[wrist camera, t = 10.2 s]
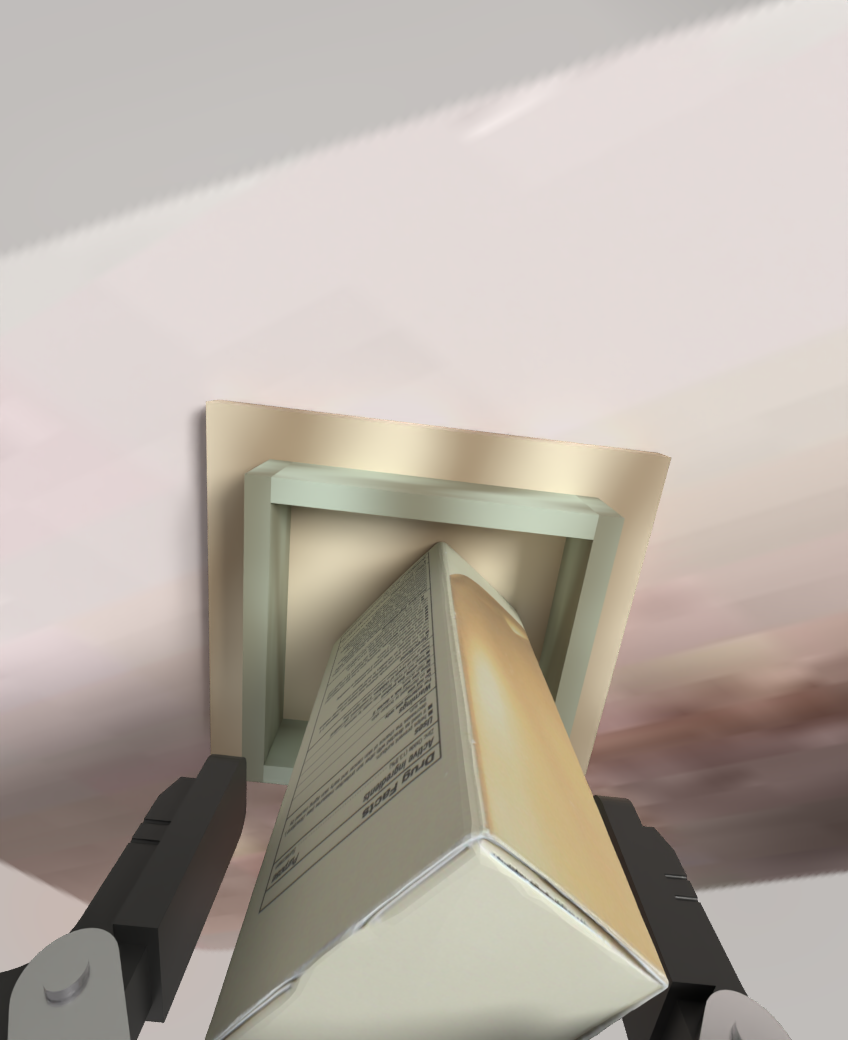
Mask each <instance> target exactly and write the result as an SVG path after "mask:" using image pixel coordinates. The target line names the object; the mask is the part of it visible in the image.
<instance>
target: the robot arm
mask: <svg viewBox="0 0 848 1040" xmlns="http://www.w3.org/2000/svg"><path fill="white" fill-rule="evenodd" d="M246 780H247V762H246V758H245V757H239V756H229V755H219V754H211V755H210V756H209V757H208V759H207V760H206V762H205V764H204V766H203V767H202V769H201V771H200V773H199V774H198V776H197V778H186V777H180V778H179V779H178V780H177V781H176V782H174V783H173V784H172V785H171V786H170V787H169V788H167V789H166V790H165V791H164V792H163V793H162V794H160V795H159V796H158V798H157V800H156V801H155V803H154V804H153V806H152V807H151V809H150V811H149V812H148V814H147V815H146V817H145V818H144V822H143V823H141V825H140V826H139V828H138V829H137V831H136V832H135V834H134V836H133V837H132V841H131V843H128V845H127V847H126V848H125V850H124V851H123V853H122V854H121V856H120V858H119V859H118V861H117V862H116V864H115V865H114V867H113V868H112V870H111V872H110V873H109V875H108V876H107V878H106V879H105V881H104V883H103V884H102V886H101V887H100V889H99V890H98V892H97V894H96V895H95V897H94V898H93V900H92V901H91V903H90V904H89V906H88V908H87V909H86V911H85V912H84V914H83V916H82V917H81V919H80V920H79V921H78V923H77V924H76V926H75V927H74V928H73V929H72V930H71V932H70V933H69V934H66V935H64V936H62V937H60V938H59V939H57V940H55V941H54V942H52V943H51V944H49V945H48V946H47V947H45V948H44V949H43V950H42V951H41V952H39V954H37V956H35V958H34V959H33V960H31V962H30V963H28V964H25V965H23V966H21V967H18V968H15V969H12V970H9V971H5V972H1V973H0V1040H137V1038H138V1036H139V1034H140V1031H141V1029H142V1027H143V1025H144V1022H145V1021H152V1022H162V1023H164V1022H165V1019H166V1017H167V1014H168V1011H169V1009H170V1007H171V1005H172V1002H173V1000H174V997H175V995H176V992H177V990H178V987H179V985H180V982H181V980H182V978H183V975H184V973H185V970H186V968H187V965H188V963H189V960H190V958H191V956H192V953H193V951H194V948H195V946H196V944H197V941H198V939H199V936H200V934H201V931H202V929H203V926H204V924H205V922H206V919H207V917H208V914H209V912H210V909H211V907H212V904H213V902H214V900H215V897H216V895H217V892H218V890H219V887H220V885H221V882H222V880H223V878H224V875H225V873H226V870H227V868H228V865H229V863H230V860H231V858H232V856H233V853H234V851H235V848H236V846H237V843H238V841H239V838H240V835H241V832H242V829H243V825H244V820H245V814H246ZM593 798H594V801H595V803H596V805H597V808H598V810H599V813H600V815H601V817H602V820H603V822H604V825H605V827H606V830H607V832H608V835H609V837H610V840H611V842H612V845H613V847H614V850H615V852H616V855H617V857H618V859H619V862H620V864H621V867H622V869H623V871H624V874H625V876H626V879H627V881H628V884H629V886H630V889H631V891H632V894H633V896H634V899H635V901H636V904H637V906H638V909H639V911H640V914H641V916H642V919H643V921H644V923H645V926H646V928H647V930H648V933H649V935H650V937H651V940H652V942H653V944H654V947H655V949H656V952H657V954H658V957H659V959H660V962H661V964H662V967H663V969H664V972H665V974H666V977H667V979H668V982H669V984H668V988H667V989H665V990H664V991H662V992H661V993H659V994H658V995H656V996H654V997H653V998H651V999H650V1000H648V1001H647V1002H645V1003H644V1004H642V1005H641V1006H639V1007H638V1008H636V1009H635V1010H632V1011H631V1012H629V1013H628V1014H626V1015H625V1016H624V1017H622V1019H623V1023H624V1026H625V1030H626V1033H627V1037H628V1040H791V1038H790V1037H789V1035H788V1034H787V1032H786V1031H785V1030H784V1028H783V1027H782V1026H781V1024H780V1023H779V1022H778V1021H777V1020H776V1019H775V1018H774V1017H773V1016H772V1015H771V1014H770V1013H769V1012H768V1011H767V1010H766V1009H765V1008H764V1007H762V1006H761V1005H760V1004H759V1003H757V1002H756V1001H754V1000H753V999H751V998H749V997H748V995H747V994H746V992H745V990H744V988H743V987H742V985H741V983H740V981H739V979H738V977H737V975H736V973H735V971H734V969H733V967H732V965H731V963H730V961H729V959H728V957H727V955H726V953H725V951H724V949H723V947H722V945H721V943H720V941H719V939H718V937H717V935H716V933H715V931H714V929H713V927H712V925H711V923H710V921H709V919H708V917H707V915H706V913H705V911H704V909H703V907H702V905H701V903H699V902H698V900H697V895H696V893H695V891H694V889H693V887H692V885H691V883H690V881H687V875H686V873H685V871H684V869H683V867H682V865H681V863H680V861H679V859H678V857H677V855H676V853H675V851H674V850H673V849H672V847H671V846H670V845H669V844H668V843H667V842H666V841H665V840H664V838H663V837H662V836H661V835H660V834H659V833H658V832H657V830H656V829H655V828H653V827H644V826H642V824H641V821H640V819H639V817H638V815H637V813H636V811H635V808H634V806H633V804H632V803H631V801H630V800H629V799H626V798H616V797H607V796H597V795H595V796H593Z"/></svg>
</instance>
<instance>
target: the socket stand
mask: <svg viewBox="0 0 848 1040" xmlns="http://www.w3.org/2000/svg"><path fill="white" fill-rule="evenodd" d="M206 446H207V520H208V594H209V667H210V741H211V754H219V755H229V756H239V757H245V758H246V762H247V780H246V781H252V782H262V783H272V784H282V785H288V783H289V780H290V777H291V774H292V771H293V768H294V765H295V762H296V759H297V756H298V753H299V749H300V746H301V743H302V740H303V737H304V734H305V731H306V728H307V725H308V722H309V719H310V716H311V713H312V710H313V707H314V703H315V700H316V697H317V694H318V691H319V688H320V685H321V682H322V678H323V675H324V672H325V669H326V666H327V663H328V660H329V657H330V654H331V650H332V647H333V645H334V644H335V642H336V641H337V640H338V639H339V638H340V637H341V636H342V635H343V634H344V633H345V632H346V631H347V630H348V628H349V627H350V626H351V625H352V624H353V623H354V622H355V621H356V620H357V619H358V618H359V617H360V616H361V615H362V614H363V613H364V612H365V611H366V610H367V609H368V608H369V607H370V606H371V605H372V604H373V603H374V602H375V601H376V600H377V599H378V598H379V597H380V596H381V595H382V594H383V593H384V592H385V591H386V590H387V589H388V588H389V587H390V586H391V585H392V584H393V583H394V582H395V581H396V580H397V579H399V578H400V577H401V576H402V575H403V574H404V573H405V572H406V571H407V570H408V569H409V568H410V567H411V566H412V565H413V564H415V563H416V562H417V561H418V560H419V559H420V558H421V557H422V556H423V555H424V554H425V553H427V552H428V551H429V550H430V549H431V548H432V547H433V546H434V545H435V544H437V543H439V542H444V543H446V544H448V545H449V546H450V547H451V548H452V549H453V550H454V551H455V552H457V553H458V554H459V555H460V556H461V557H462V558H463V559H464V560H465V561H466V562H467V563H468V564H469V565H470V566H472V567H473V568H474V569H475V570H476V571H477V572H478V573H479V574H480V575H481V576H482V577H483V578H484V579H485V580H486V581H487V582H488V583H489V584H490V585H491V586H492V587H493V588H494V589H495V590H497V591H498V592H499V593H500V595H501V596H502V597H503V598H504V599H505V600H506V601H507V602H508V603H509V604H510V605H511V606H512V607H513V608H514V609H515V610H516V611H517V613H518V615H519V617H520V620H521V622H522V624H523V627H524V630H525V632H526V634H527V637H528V639H529V642H530V644H531V647H532V649H533V652H534V654H535V657H536V659H537V661H538V664H539V667H540V669H541V671H542V674H543V676H544V678H545V681H546V683H547V686H548V688H549V690H550V693H551V695H552V698H553V700H554V702H555V705H556V707H557V710H558V712H559V715H560V718H561V720H562V722H563V724H564V727H565V729H566V732H567V734H568V737H569V740H570V742H571V745H572V747H573V749H574V752H575V754H576V756H577V759H578V761H579V764H580V766H581V769H582V772H583V774H584V777H585V775H586V771H587V767H588V763H589V760H590V756H591V752H592V749H593V745H594V741H595V738H596V734H597V730H598V727H599V723H600V719H601V715H602V712H603V708H604V704H605V701H606V697H607V693H608V690H609V686H610V682H611V679H612V675H613V671H614V667H615V664H616V660H617V656H618V653H619V649H620V645H621V642H622V638H623V634H624V630H625V627H626V623H627V619H628V616H629V612H630V608H631V605H632V601H633V597H634V594H635V590H636V586H637V582H638V579H639V575H640V571H641V568H642V564H643V560H644V557H645V553H646V549H647V546H648V542H649V538H650V534H651V531H652V527H653V523H654V520H655V516H656V512H657V509H658V505H659V501H660V498H661V494H662V490H663V486H664V483H665V479H666V475H667V472H668V468H669V464H670V461H671V457H668V456H665V455H662V454H660V453H654V452H646V451H638V450H630V449H621V448H613V447H605V446H596V445H588V444H580V443H572V442H563V441H555V440H547V439H539V438H530V437H522V436H514V435H505V434H497V433H489V432H481V431H472V430H464V429H456V428H448V427H439V426H431V425H423V424H414V423H406V422H398V421H390V420H381V419H373V418H365V417H356V416H348V415H340V414H332V413H323V412H315V411H307V410H299V409H290V408H282V407H274V406H265V405H257V404H249V403H241V402H232V401H224V400H213V401H207V402H206Z"/></svg>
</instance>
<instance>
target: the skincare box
mask: <svg viewBox="0 0 848 1040" xmlns="http://www.w3.org/2000/svg"><path fill="white" fill-rule="evenodd" d="M668 984H669V982H668V979H667V977H666V974H665V972H664V969H663V967H662V964H661V962H660V959H659V957H658V954H657V952H656V949H655V947H654V944H653V942H652V940H651V937H650V935H649V933H648V930H647V928H646V926H645V923H644V921H643V919H642V916H641V914H640V911H639V909H638V906H637V904H636V901H635V899H634V896H633V894H632V891H631V889H630V886H629V884H628V881H627V879H626V876H625V874H624V871H623V869H622V867H621V864H620V862H619V859H618V857H617V855H616V852H615V850H614V847H613V845H612V842H611V840H610V837H609V835H608V832H607V830H606V827H605V825H604V822H603V820H602V817H601V815H600V813H599V810H598V808H597V805H596V803H595V801H594V798H593V796H592V793H591V790H590V788H589V785H588V783H587V781H586V779H585V777H584V774H583V772H582V769H581V766H580V764H579V761H578V759H577V756H576V754H575V752H574V749H573V747H572V745H571V742H570V740H569V737H568V734H567V732H566V729H565V727H564V724H563V722H562V720H561V718H560V715H559V712H558V710H557V707H556V705H555V702H554V700H553V698H552V695H551V693H550V690H549V688H548V686H547V683H546V681H545V678H544V676H543V674H542V671H541V669H540V667H539V664H538V661H537V659H536V657H535V654H534V652H533V649H532V647H531V644H530V642H529V639H528V637H527V634H526V632H525V630H524V627H523V624H522V622H521V620H520V617H519V615H518V613H517V611H516V610H515V609H514V608H513V607H512V606H511V605H510V604H509V603H508V602H507V601H506V600H505V599H504V598H503V597H502V596H501V595H500V593H499V592H498V591H497V590H495V589H494V588H493V587H492V586H491V585H490V584H489V583H488V582H487V581H486V580H485V579H484V578H483V577H482V576H481V575H480V574H479V573H478V572H477V571H476V570H475V569H474V568H473V567H472V566H470V565H469V564H468V563H467V562H466V561H465V560H464V559H463V558H462V557H461V556H460V555H459V554H458V553H457V552H455V551H454V550H453V549H452V548H451V547H450V546H449V545H448V544H446V543H444V542H439V543H437V544H435V545H434V546H433V547H432V548H431V549H430V550H429V551H428V552H427V553H425V554H424V555H423V556H422V557H421V558H420V559H419V560H418V561H417V562H416V563H415V564H413V565H412V566H411V567H410V568H409V569H408V570H407V571H406V572H405V573H404V574H403V575H402V576H401V577H400V578H399V579H397V580H396V581H395V582H394V583H393V584H392V585H391V586H390V587H389V588H388V589H387V590H386V591H385V592H384V593H383V594H382V595H381V596H380V597H379V598H378V599H377V600H376V601H375V602H374V603H373V604H372V605H371V606H370V607H369V608H368V609H367V610H366V611H365V612H364V613H363V614H362V615H361V616H360V617H359V618H358V619H357V620H356V621H355V622H354V623H353V624H352V625H351V626H350V627H349V628H348V630H347V631H346V632H345V633H344V634H343V635H342V636H341V637H340V638H339V639H338V640H337V641H336V642H335V644H334V645H333V647H332V650H331V654H330V657H329V660H328V663H327V666H326V669H325V672H324V675H323V678H322V682H321V685H320V688H319V691H318V694H317V697H316V700H315V703H314V707H313V710H312V713H311V716H310V719H309V722H308V725H307V728H306V731H305V734H304V737H303V740H302V743H301V746H300V749H299V753H298V756H297V759H296V762H295V765H294V768H293V771H292V774H291V777H290V780H289V783H288V786H287V789H286V792H285V796H284V799H283V802H282V805H281V808H280V811H279V814H278V817H277V820H276V823H275V826H274V829H273V832H272V835H271V838H270V841H269V844H268V847H267V850H266V854H265V857H264V860H263V863H262V866H261V869H260V872H259V875H258V878H257V881H256V884H255V887H254V890H253V893H252V896H251V900H250V903H249V906H248V909H247V912H246V916H245V919H244V922H243V925H242V928H241V931H240V934H239V937H238V940H237V943H236V946H235V949H234V952H233V955H232V958H231V961H230V964H229V968H228V970H227V974H226V977H225V980H224V983H223V986H222V989H221V993H220V995H219V999H218V1002H217V1005H216V1008H215V1011H214V1014H213V1017H212V1020H211V1023H210V1026H209V1029H208V1032H207V1034H206V1038H205V1040H590V1039H591V1038H593V1037H594V1036H596V1035H598V1034H599V1033H600V1032H602V1031H603V1030H604V1029H606V1028H607V1027H609V1026H610V1025H611V1024H613V1023H614V1022H616V1021H618V1020H620V1019H621V1018H622V1017H624V1016H625V1015H626V1014H628V1013H629V1012H631V1011H632V1010H635V1009H636V1008H638V1007H639V1006H641V1005H642V1004H644V1003H645V1002H647V1001H648V1000H650V999H651V998H653V997H654V996H656V995H658V994H659V993H661V992H662V991H664V990H665V989H667V988H668Z"/></svg>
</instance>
